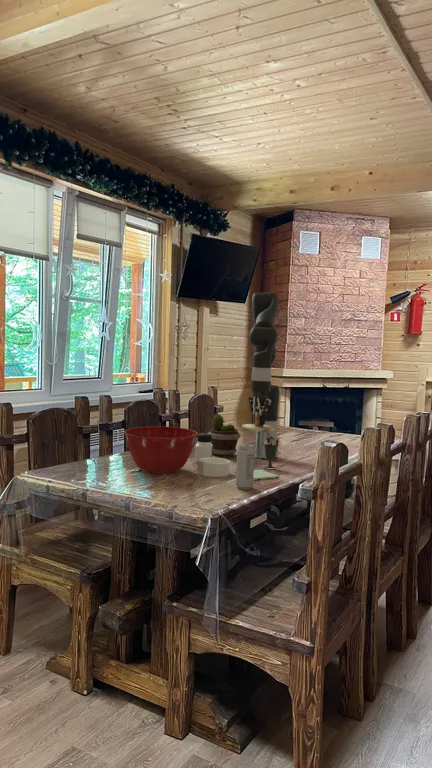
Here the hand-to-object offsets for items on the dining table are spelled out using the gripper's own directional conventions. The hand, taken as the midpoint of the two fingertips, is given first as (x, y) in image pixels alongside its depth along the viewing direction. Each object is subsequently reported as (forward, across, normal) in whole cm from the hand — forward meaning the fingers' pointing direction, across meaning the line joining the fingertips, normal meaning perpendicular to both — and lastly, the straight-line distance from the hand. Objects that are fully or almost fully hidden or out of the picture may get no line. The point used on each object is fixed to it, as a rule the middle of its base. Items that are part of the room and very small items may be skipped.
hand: (259, 424), depth 212 cm
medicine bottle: (+20, +31, +7) cm, 38 cm away
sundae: (+20, +10, -13) cm, 26 cm away
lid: (+2, 0, 0) cm, 2 cm away
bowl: (+20, +9, +14) cm, 26 cm away
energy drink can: (+20, -15, +15) cm, 29 cm away
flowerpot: (+20, +42, -9) cm, 47 cm away
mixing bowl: (+20, +20, +32) cm, 43 cm away
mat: (+20, 0, 0) cm, 20 cm away
